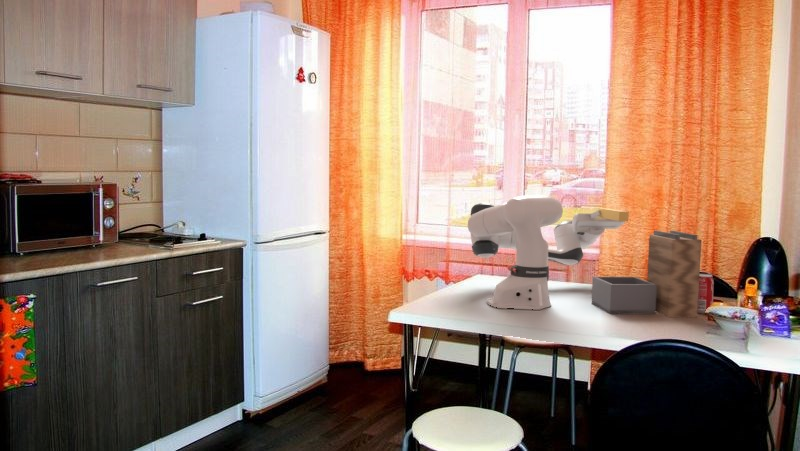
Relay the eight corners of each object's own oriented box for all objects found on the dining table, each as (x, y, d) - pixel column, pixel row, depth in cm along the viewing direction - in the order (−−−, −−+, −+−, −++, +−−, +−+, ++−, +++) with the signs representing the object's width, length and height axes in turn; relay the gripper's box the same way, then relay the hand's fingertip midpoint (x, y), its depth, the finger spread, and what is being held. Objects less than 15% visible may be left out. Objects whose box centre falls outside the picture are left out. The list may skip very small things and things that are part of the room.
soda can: (714, 314, 217) (717, 277, 216) (692, 313, 219) (694, 275, 218) (709, 310, 224) (711, 273, 223) (687, 309, 226) (689, 272, 224)
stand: (668, 317, 212) (672, 235, 210) (645, 306, 228) (649, 230, 226) (696, 317, 213) (701, 235, 211) (672, 306, 229) (676, 230, 226)
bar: (619, 221, 233) (619, 211, 232) (598, 217, 253) (598, 208, 252) (628, 221, 233) (628, 211, 233) (606, 217, 253) (607, 208, 253)
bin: (609, 313, 215) (611, 284, 215) (591, 303, 231) (592, 276, 230) (655, 313, 217) (656, 284, 216) (634, 303, 233) (635, 276, 232)
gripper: (618, 234, 262) (632, 219, 249) (570, 233, 260) (581, 218, 248) (616, 220, 264) (629, 205, 252) (568, 219, 263) (579, 204, 250)
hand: (605, 212), depth 250 cm, fingers closed on bar, 3 cm apart
